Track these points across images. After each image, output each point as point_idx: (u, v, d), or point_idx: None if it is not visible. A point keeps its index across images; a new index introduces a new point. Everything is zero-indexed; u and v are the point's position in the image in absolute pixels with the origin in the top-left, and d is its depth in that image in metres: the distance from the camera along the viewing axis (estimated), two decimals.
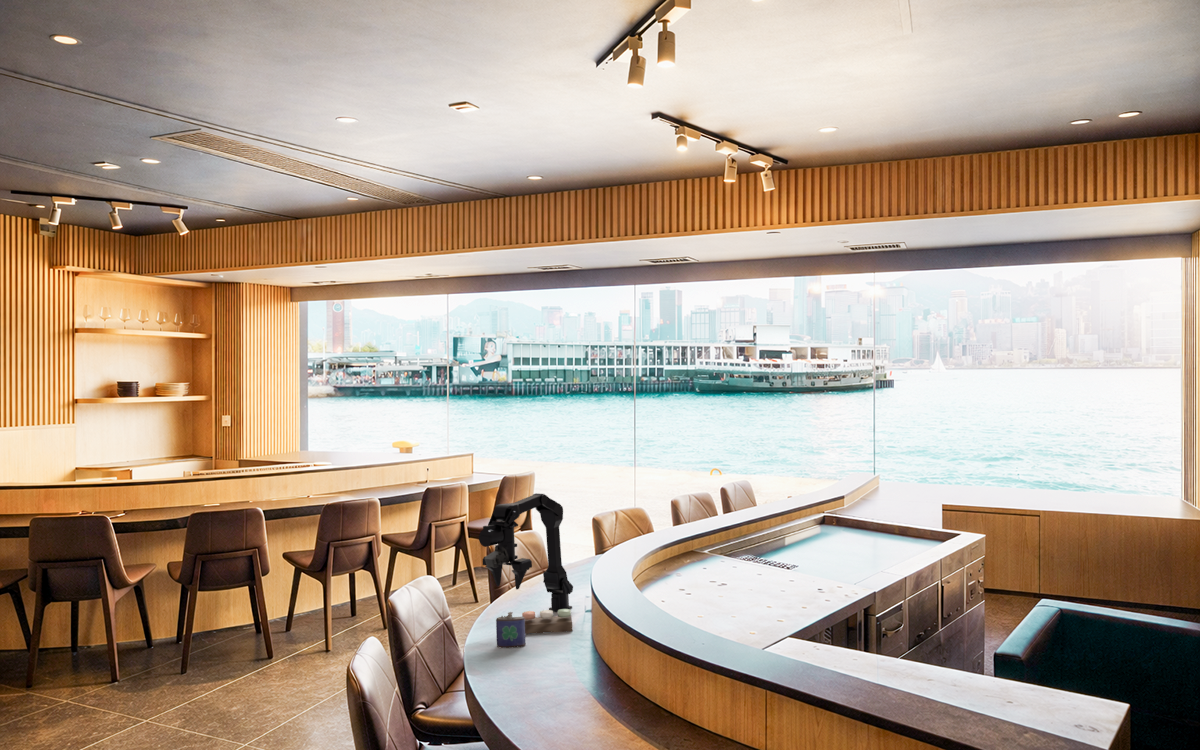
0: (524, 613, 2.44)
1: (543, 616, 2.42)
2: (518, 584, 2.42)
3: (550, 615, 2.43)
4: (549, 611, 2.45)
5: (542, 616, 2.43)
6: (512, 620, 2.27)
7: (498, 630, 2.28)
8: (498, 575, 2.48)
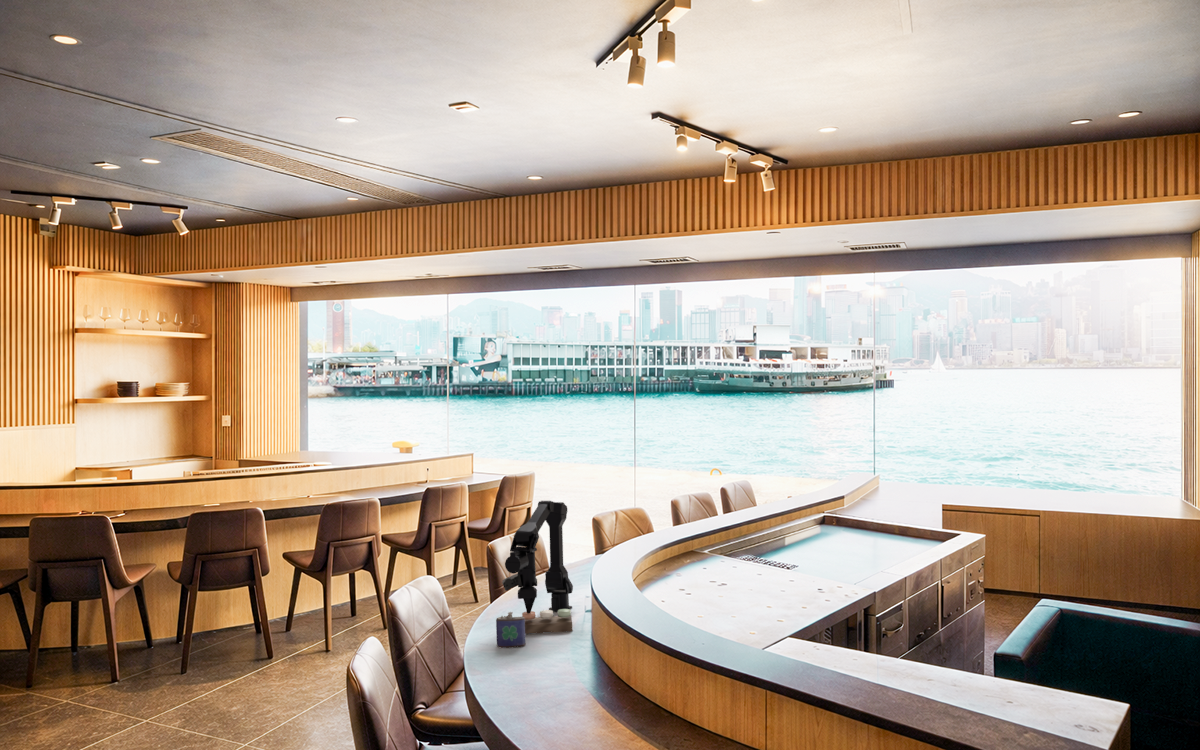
0: (524, 613, 2.44)
1: (543, 616, 2.42)
2: (528, 608, 2.43)
3: (550, 615, 2.43)
4: (549, 611, 2.45)
5: (542, 616, 2.43)
6: (512, 620, 2.27)
7: (498, 630, 2.28)
8: None
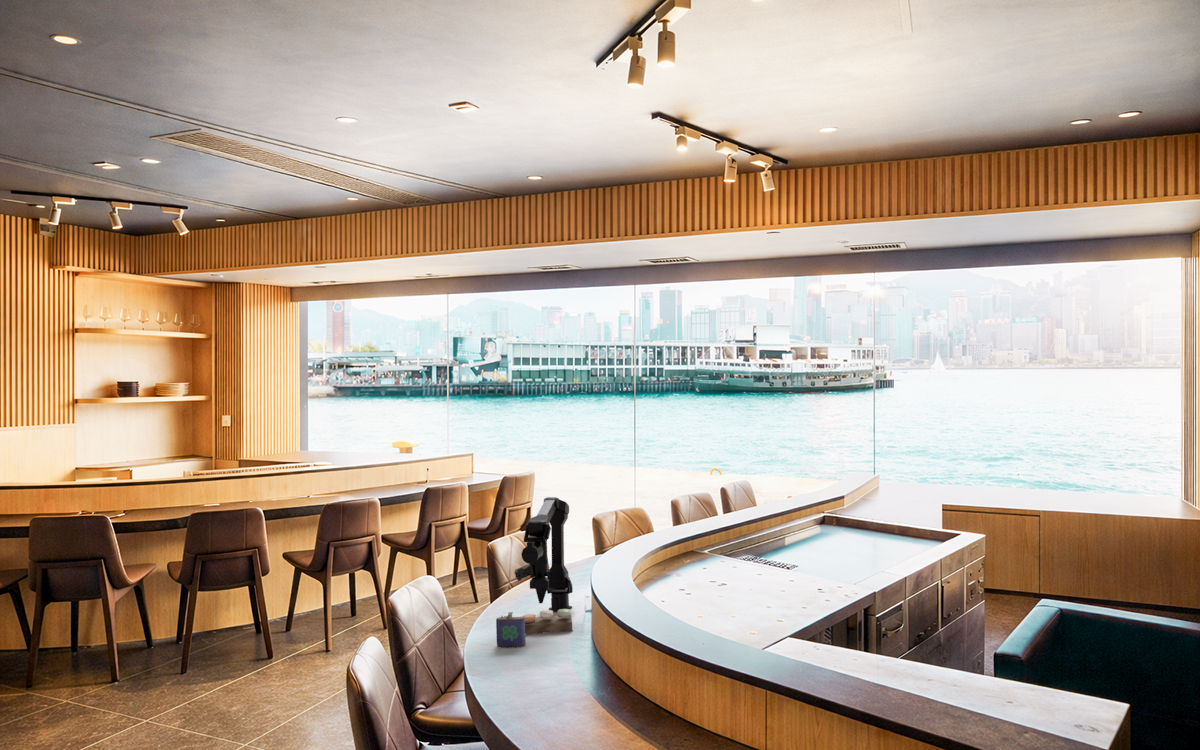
0: (524, 616, 2.44)
1: (543, 616, 2.42)
2: (540, 598, 2.44)
3: (550, 615, 2.43)
4: (549, 611, 2.45)
5: (542, 616, 2.43)
6: (512, 620, 2.27)
7: (498, 630, 2.28)
8: None
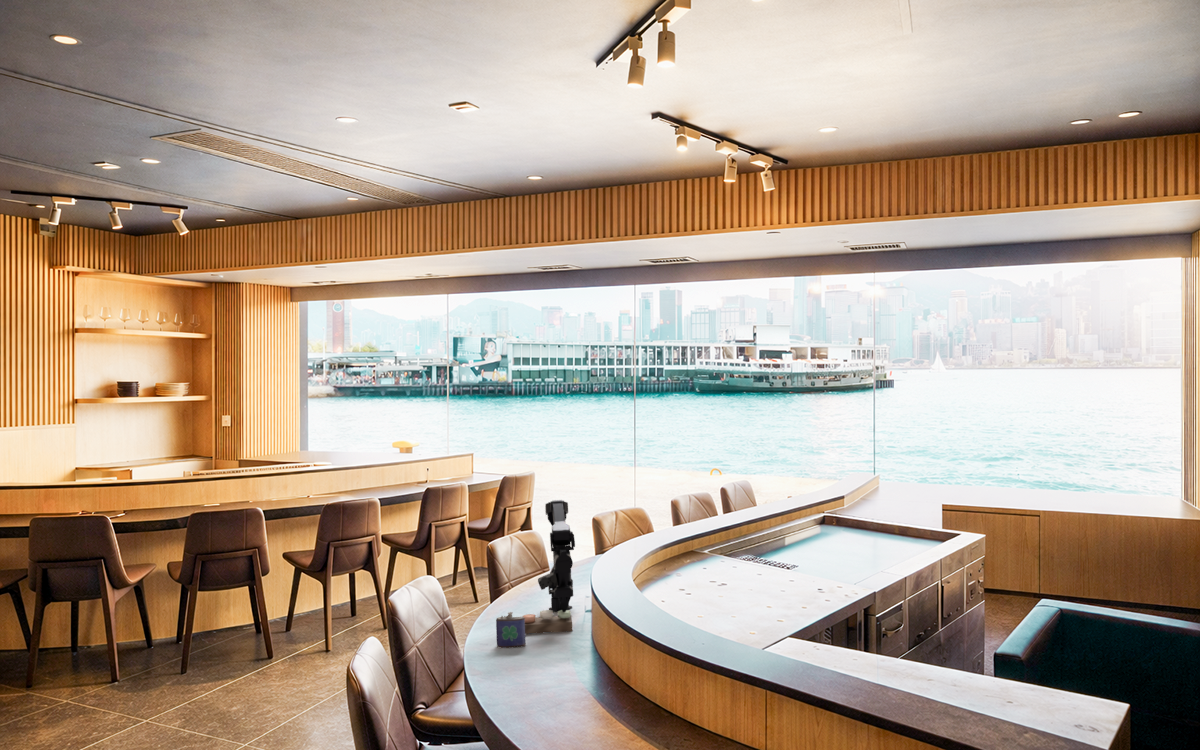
0: (524, 616, 2.44)
1: (543, 616, 2.42)
2: (563, 607, 2.44)
3: (550, 615, 2.43)
4: (549, 611, 2.45)
5: (542, 616, 2.43)
6: (512, 620, 2.27)
7: (498, 630, 2.28)
8: None
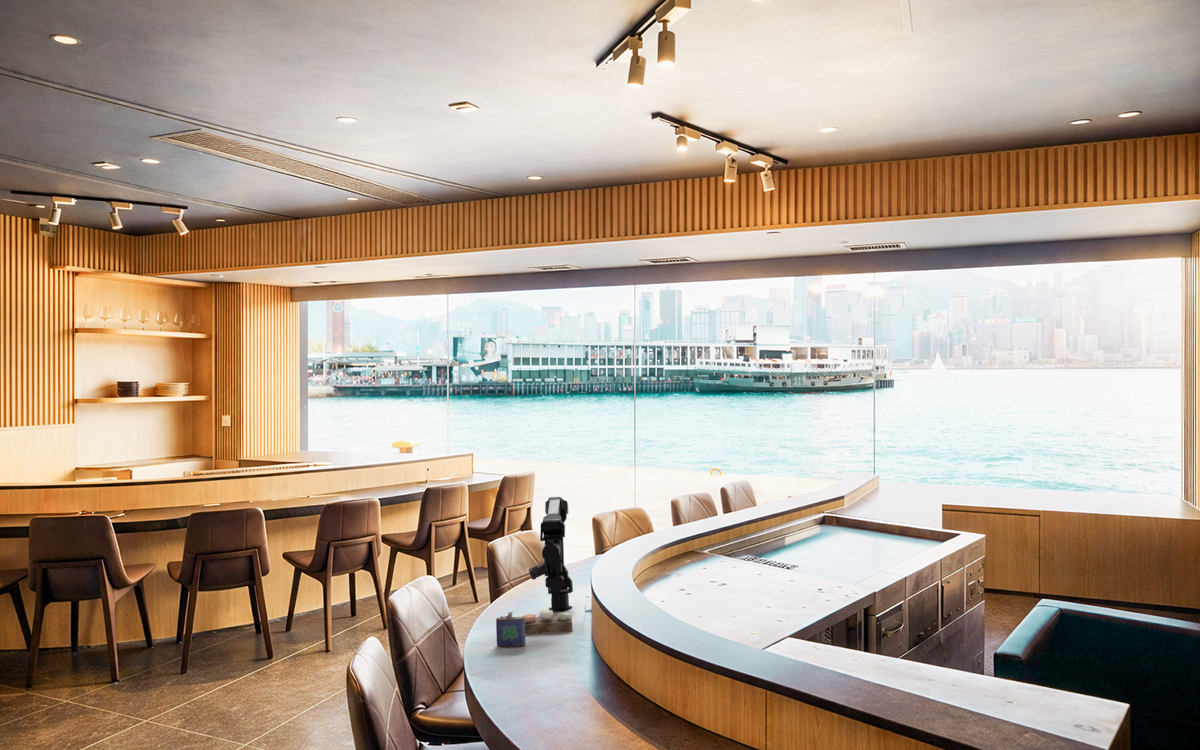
0: (524, 616, 2.44)
1: (543, 616, 2.42)
2: (554, 597, 2.44)
3: (550, 615, 2.43)
4: (549, 611, 2.45)
5: (542, 616, 2.43)
6: (512, 620, 2.27)
7: (498, 630, 2.28)
8: None
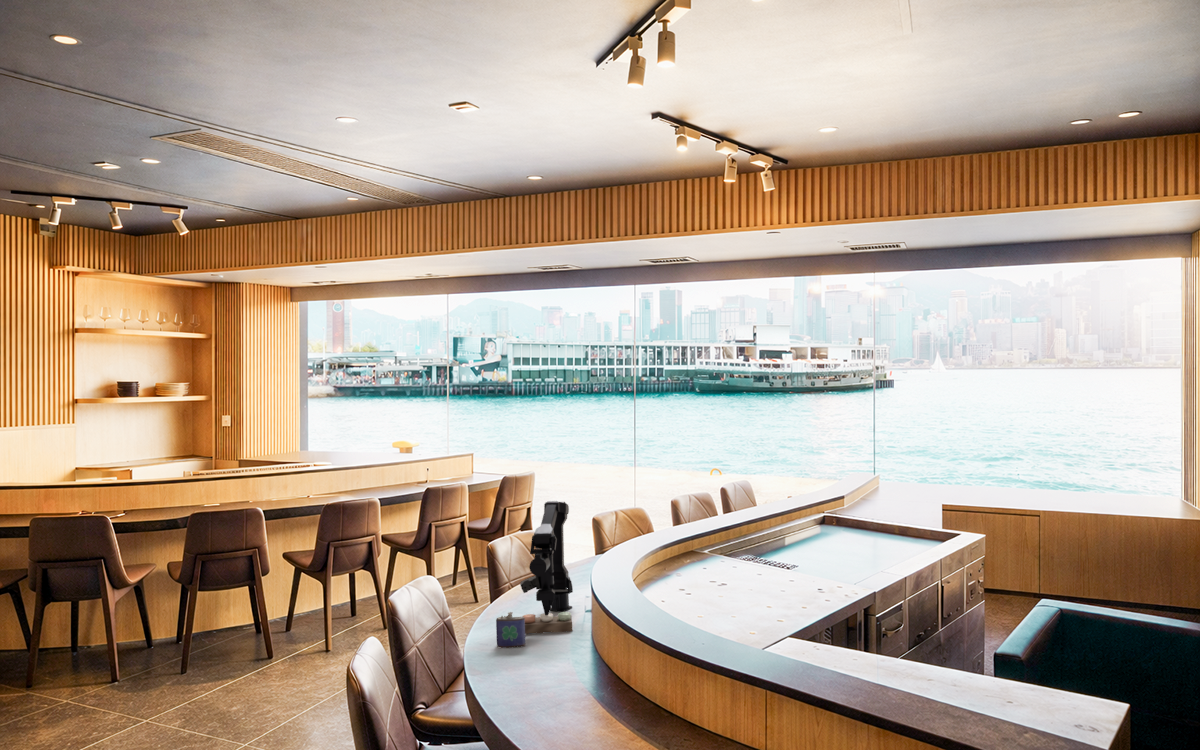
0: (524, 616, 2.44)
1: (543, 619, 2.42)
2: (546, 610, 2.44)
3: (550, 618, 2.43)
4: (549, 614, 2.45)
5: (542, 619, 2.43)
6: (512, 620, 2.27)
7: (498, 630, 2.28)
8: None
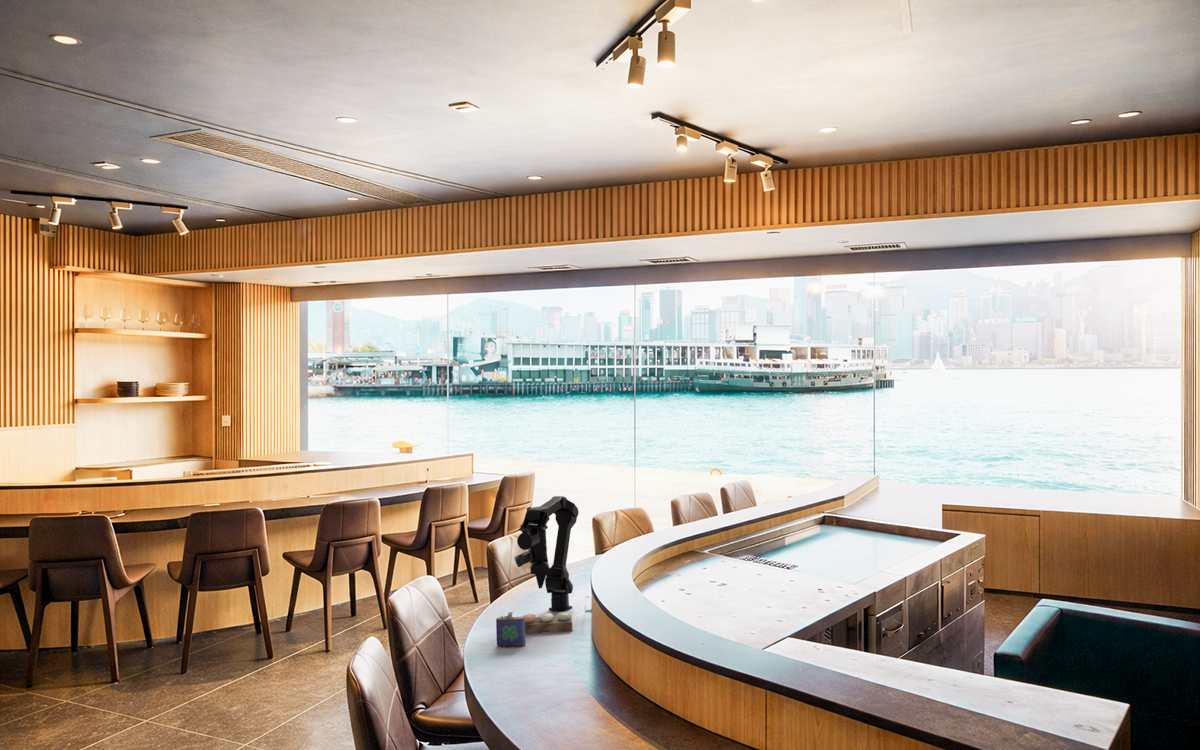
0: (524, 616, 2.44)
1: (543, 619, 2.42)
2: (539, 584, 2.53)
3: (550, 618, 2.43)
4: (549, 614, 2.45)
5: (542, 619, 2.43)
6: (512, 620, 2.27)
7: (498, 630, 2.28)
8: None
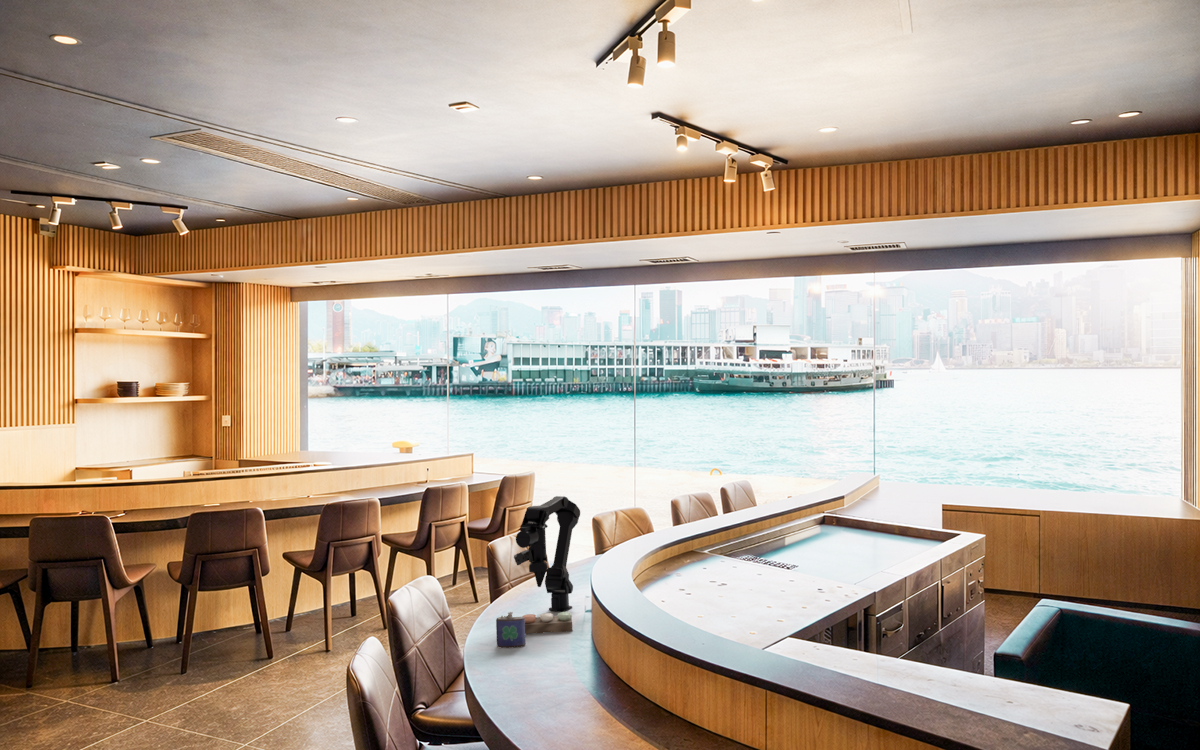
0: (524, 616, 2.44)
1: (543, 619, 2.42)
2: (538, 582, 2.53)
3: (550, 618, 2.43)
4: (549, 614, 2.45)
5: (542, 619, 2.43)
6: (512, 620, 2.27)
7: (498, 630, 2.28)
8: None
